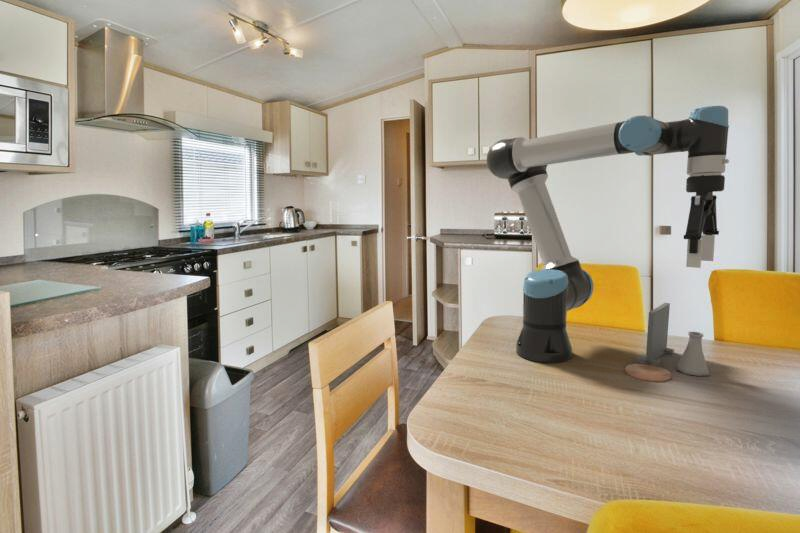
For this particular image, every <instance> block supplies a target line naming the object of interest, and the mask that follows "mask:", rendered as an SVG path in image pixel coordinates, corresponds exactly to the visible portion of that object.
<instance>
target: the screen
mask: <svg viewBox="0 0 800 533" xmlns="http://www.w3.org/2000/svg"><path fill="white" fill-rule="evenodd" d="M670 306H671V303H669V302H664V303H662V304H660V305H659V306H657V307H655V308H653V309H652V310H650V311H649V312H648V320H647V321H648V322H647V336H646V350H645V351H646V354H645V356H643V355H642V356H641V355H639V357H638V358H637V362H638V363H641V364H647V365H653V366H657V367H660V366H661V365H662V360H659V358H660V357H661V356H662V355H664V354H668V355H673V354H674V353H675V349H674V348H670V347H668V346H667V345H668V336H669V335H668V334H669V322H670V321H669V320H670V308H671V307H670Z"/></svg>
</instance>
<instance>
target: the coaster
mask: <svg viewBox="0 0 800 533" xmlns="http://www.w3.org/2000/svg"><path fill="white" fill-rule="evenodd" d="M624 371H625V373H626V374H627V375H629V376H630V377H632V378H635V379H638V380H641V381H646V382H654V383H656V382H657V383H658V382H660V383H661V382H667V381H670V380H671V379H672V373H671V372H670V371H668V370H667V369H664V368H663V367H660V366H655V365H650V364H646V363H632V364H628V365H626V366H625V368H624Z"/></svg>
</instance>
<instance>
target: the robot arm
mask: <svg viewBox="0 0 800 533" xmlns="http://www.w3.org/2000/svg"><path fill="white" fill-rule="evenodd" d="M729 128H730V125H729V109H728V108H727V107H726V106H723V105H709V106H702V107H699V108H695V109H693V110H691V111H690V113H689V117H688V118H687V119H681V120H676V121H675V120H673V121H666V122H664V121H661V120H658V119H655V117H654V118H653V117H652V116H650V115H649V116H648V115H633V116H631V117H629V118H628V119H626V120H624V121H619V122H613V123H612V122H611V123H607V124H603V125H598V126H597V125H596V126H592V127H587V128H581V129H576V130H572V131H566V132H560V133H555V134H549V135H544V136H540V137H534V138H529V139H526V138H525V137H523V136H519V137H514V138H505V139H500V140H498V141H495V143H494V144H492V145H491V147H490V148H489V150H488V151H487V155H486V165H487V168H488V171H490V173H491V174H492V175H493V176H495V177H497V178H499V179H503V180H507V181H508V185H509V187H510V190H511V192H515V193H517V194H518V197H519V200H520V203H521V206H522V209H523V212H524V214H525V218H526V221H527V223H528V227H529V229H530V232H531V235H532V237H533V240H534V244H535V245H536V248H537V251H538V254H539V257H540V259H541V260H540V261H541V263H542V266H541V269H540V270H534V271H531V272H529V273H527V274H526V275H525V277H524V280H523V281H524V282H523V286H522V291H523V298H522V299H523V305H522V306H523V309H522V310H523V312H522V328H521V329H520V333H519V334H518V335H519V336H518V338H517V341H516V343H515V344H516V345H515V348H516V349H515V352H516V354H517V355H518V356H520V357H521V358H524V359H526V360H529V361H533V362H541V363H562V362H565V361H568V360H570V359H571V358H573V347H572V344H571V340H570V336H569V334H568V332H567V312H569V311H571V310H573V309H576V308H580V307H582V306H584V304H586V303H587V302H588V301H589V300H590V299H591V298H592V295H593V293H594V281H593V278H592V276H591V275H590V274H589V273H588V272H587V271H586V270H584V269H583V268H582V266H581V263H580V261H579V259H578V258H576V257H573V256H572V255H571V252H570V249H569V246H568V243H567V240H566V237H565V234H564V232H563V230H562V226H561V223H560V220H559V218H558V214H557V212H556V209H555V207H554V204H553V201H552V199H551V196H550V193H549V189H548V188H547V184H546V181H547V180H548V177H549V175H548V172H547V167H548V166H549V165H555V164H562V163H563V164H564V163H567V162H575V161H581V160H589V159H596V158H603V157H610V156H617V155H624V154H633V153H634V154H635V155H637V156H650V157H651V156H654V155H662V154H672V153H683V152H684V153H685V152H687V161H686V162H687V164H686V174H687V176H688V175H689V176H688V177H687V178H686V184H685V187H686V188H685V191H686V193H695V195H693V196H691V197H690V208H689V212H688V213H689V214H688V218H687V219H688V220H687V223H686V224H687V225H686V231H685V234H683V240H687V246H686V264H685V268H698V269H701V265H702V261H703V262H714V257H715V256H714V255H715V242H716V241H715V239H716V238H715V237H716V236H717V235H719V233H720V230H718V224H717V220H718V219H717V195H714V193H713V192H724V190H725V180H726V177H725V175H722V174H724V173H725V172H726V165H727V164H728V163H729V162H730V160H729V159H728V158H727V149H728V138H729Z"/></svg>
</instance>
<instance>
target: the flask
mask: <svg viewBox="0 0 800 533" xmlns="http://www.w3.org/2000/svg"><path fill="white" fill-rule="evenodd" d="M687 333H688V336H689V338H688V342H687V345H686V347H685V348H684V349H685V350H684V351H683V353H682V356H681V357H680V359H678V360H679V361H678V362H677V364H676V370H677V371H679V372H680V373H683V374H685V375H689V376H697V377H703V376H705V377H706V376H711V374H710V371H709V368H708V367H709V366H708V364H707V361H706V358H705V355H704V352H703V346H702V345H703V344H702V342H703V340H702V339H703V337H704V333H702V332H700V331H688V332H687Z"/></svg>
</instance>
